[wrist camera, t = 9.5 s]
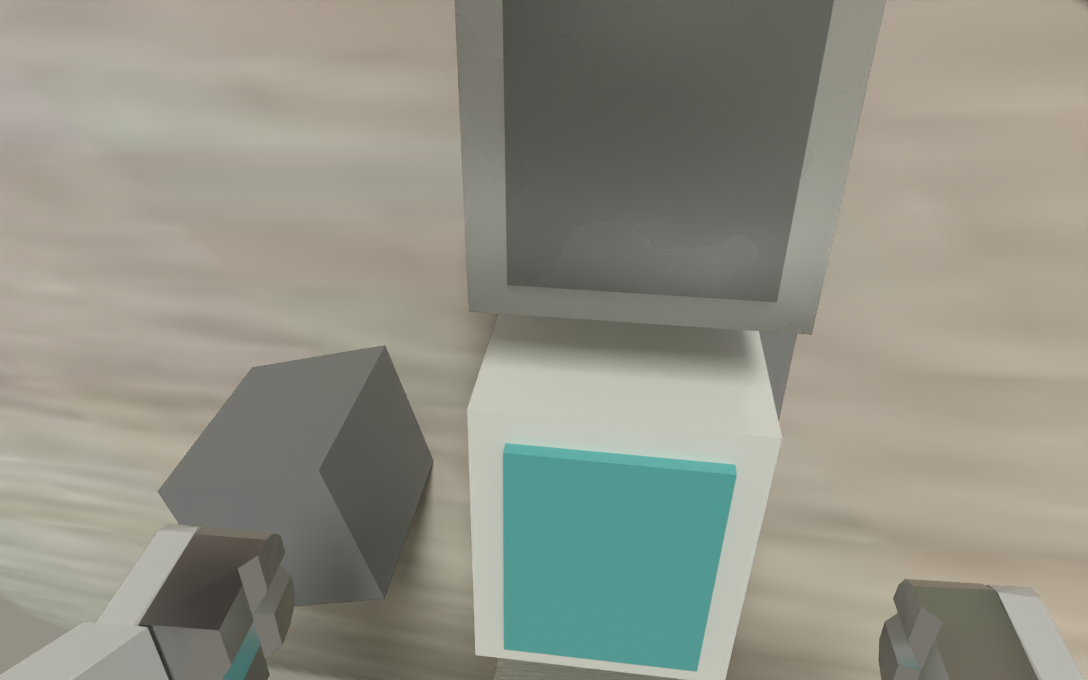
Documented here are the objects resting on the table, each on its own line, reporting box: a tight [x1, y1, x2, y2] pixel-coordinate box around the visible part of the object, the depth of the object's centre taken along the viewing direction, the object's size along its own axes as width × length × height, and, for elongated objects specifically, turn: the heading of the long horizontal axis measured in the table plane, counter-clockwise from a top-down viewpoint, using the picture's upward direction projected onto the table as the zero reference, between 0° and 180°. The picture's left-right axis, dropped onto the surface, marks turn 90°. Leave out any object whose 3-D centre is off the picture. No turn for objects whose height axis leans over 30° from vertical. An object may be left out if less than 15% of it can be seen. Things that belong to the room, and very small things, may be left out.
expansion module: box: [467, 314, 782, 680], centre depth 14 cm, size 4×5×7 cm
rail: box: [455, 0, 886, 680], centre depth 15 cm, size 6×19×9 cm, turn 179°
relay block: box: [158, 345, 433, 606], centre depth 20 cm, size 4×4×5 cm
